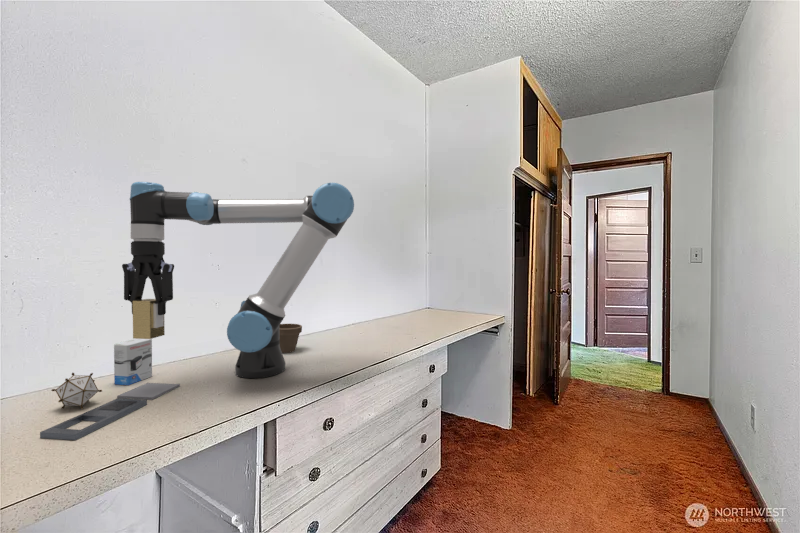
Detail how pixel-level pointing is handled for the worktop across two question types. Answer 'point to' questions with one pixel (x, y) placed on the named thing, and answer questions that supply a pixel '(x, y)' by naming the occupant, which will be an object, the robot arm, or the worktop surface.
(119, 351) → the ink box
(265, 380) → the worktop surface
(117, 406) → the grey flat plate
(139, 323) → the brass block with hole
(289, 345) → the flower pot
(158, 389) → the pad
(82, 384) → the game die
